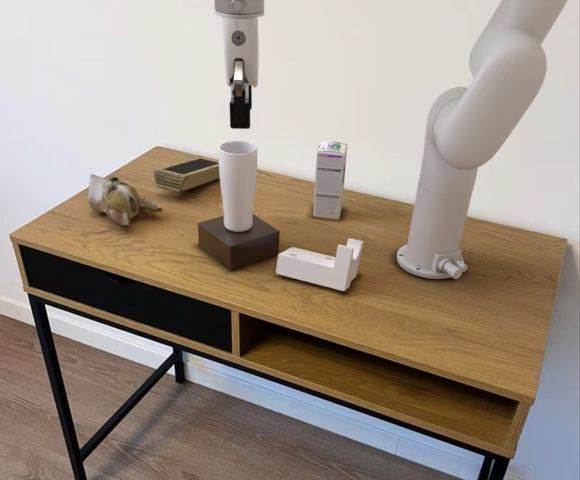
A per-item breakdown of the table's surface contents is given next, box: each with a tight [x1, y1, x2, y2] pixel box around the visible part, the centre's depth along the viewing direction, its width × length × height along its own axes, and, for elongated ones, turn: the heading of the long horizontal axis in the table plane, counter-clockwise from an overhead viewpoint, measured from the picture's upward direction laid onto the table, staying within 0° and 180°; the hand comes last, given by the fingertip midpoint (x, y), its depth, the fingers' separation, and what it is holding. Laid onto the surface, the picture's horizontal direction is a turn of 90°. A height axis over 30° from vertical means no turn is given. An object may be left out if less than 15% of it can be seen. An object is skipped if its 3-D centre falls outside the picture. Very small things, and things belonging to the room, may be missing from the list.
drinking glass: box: [218, 140, 259, 232], centre depth 114 cm, size 7×7×15 cm
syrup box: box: [312, 140, 348, 220], centre depth 132 cm, size 6×6×14 cm
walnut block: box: [197, 213, 281, 272], centre depth 120 cm, size 11×11×5 cm
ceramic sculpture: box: [87, 173, 164, 228], centre depth 127 cm, size 11×9×15 cm
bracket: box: [275, 237, 364, 292], centre depth 113 cm, size 13×7×8 cm, turn 67°
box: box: [153, 155, 220, 194], centre depth 144 cm, size 8×22×5 cm, turn 156°
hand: (241, 118), depth 106 cm, fingers open, 9 cm apart
